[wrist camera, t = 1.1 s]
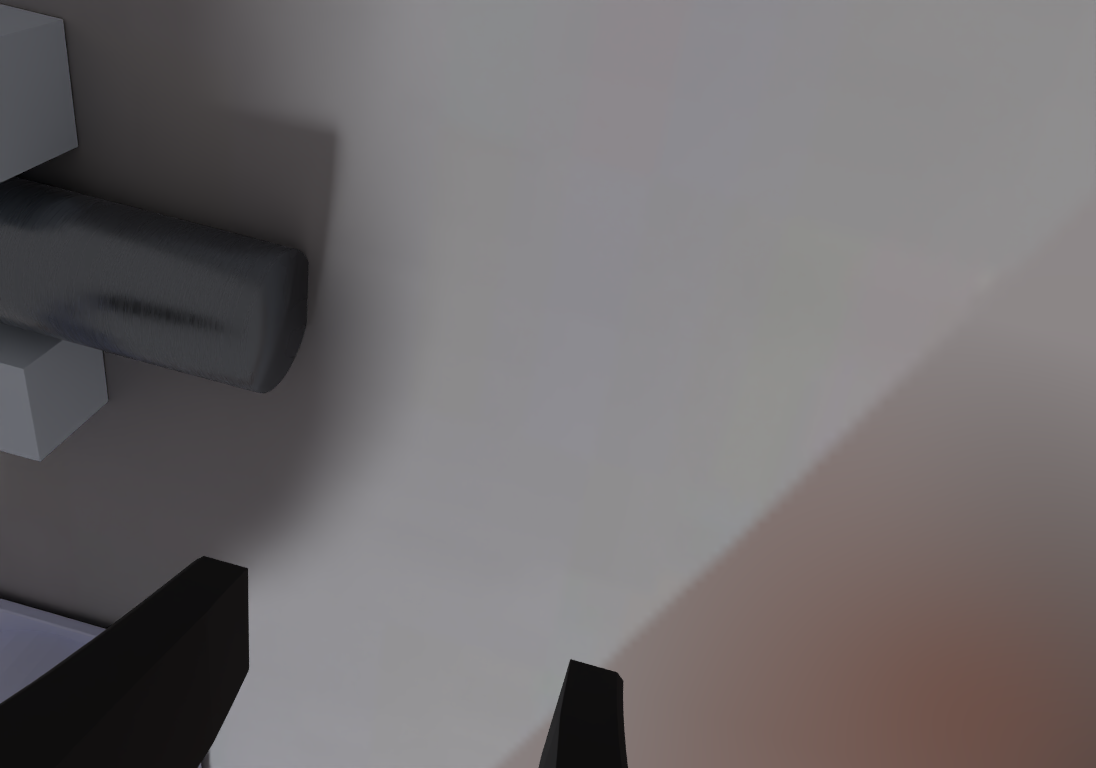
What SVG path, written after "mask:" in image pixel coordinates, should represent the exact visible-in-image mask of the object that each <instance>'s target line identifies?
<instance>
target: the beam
mask: <svg viewBox="0 0 1096 768" xmlns="http://www.w3.org/2000/svg"><path fill="white" fill-rule="evenodd" d="M76 147H78V141H77V133H76V125H75V116H74V108H73V99H72V91H71V82H70V74H69V65H68V57H67V49H66V40H65V32H64V23H63V19H60V18H56V17H51V16H47V15H43V14H39V13H35V12H31V11H27V10H23V9H19V8H15V7H11V6H7V5H2V4H0V183H1V182H3V181H5V180H7V179H10V178H12V177H14V176H16V175H18V174H20V173H22V172H25V171H27V170H29V169H31V168H33V167H35V166H37V165H40V164H42V163H44V162H46V161H48V160H50V159H52V158H55V157H57V156H59V155H61V154H63V153H65V152H67V151H70V150H72V149H74V148H76ZM107 402H108V394H107V386H106V377H105V369H104V361H103V352H102V350H98V349H94V348H91V347H87V346H83V345H79V344H76V343H72V342H68V341H64V340H61V339H57V338H53V337H50V336H46V335H42V334H38V333H35V332H31V331H27V330H23V329H20V328H16V327H12V326H9V325H5V324H1V323H0V451H3V452H7V453H10V454H14V455H17V456H21V457H24V458H28V459H32V460H35V461H39V462H41V461H42V460H43V459H44V458H45V457H46V456H47V455H49V454H50V453H51V452H52V451H53V450H54V449H55V448H56V447H58V446H59V445H60V444H61V443H62V442H63V441H64V440H65V439H67V438H68V437H69V436H70V435H71V434H72V433H73V432H74V431H76V430H77V429H78V428H79V427H80V426H81V425H82V424H83V423H85V422H86V421H87V420H88V419H89V418H90V417H91V416H93V415H94V414H95V413H96V412H97V411H98V410H99V409H100V408H102V407H103V406H104V405H105V404H106V403H107Z"/></svg>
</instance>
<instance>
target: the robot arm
mask: <svg viewBox="0 0 1096 768" xmlns="http://www.w3.org/2000/svg"><path fill="white" fill-rule="evenodd" d="M248 670H249V622H248V568H245V567H241V566H238V565H234V564H231V563H227V562H224V561H220V560H216V559H213V558H209V557H206V556H203V557H201V558H199V559H197V560H195V561H194V562H193V563H191V564H190V565H189V566H188V567H186V568H185V569H184V570H183V571H181V572H180V573H179V574H177V575H176V576H175V577H174V578H172V579H171V580H170V581H169V582H167V583H166V584H165V585H163V586H162V587H161V588H160V589H158V590H157V591H156V592H154V593H153V594H152V595H151V596H149V597H148V598H147V599H145V600H144V601H143V602H141V603H140V604H139V605H138V606H136V607H135V608H134V609H132V610H131V611H130V612H128V613H127V614H126V615H124V616H123V617H122V618H120V619H119V620H118V621H116V622H115V623H114V624H112V625H111V626H110V627H108V628H107V629H105V628H101V627H98V626H94V625H91V624H88V623H84V622H81V621H77V620H74V619H70V618H67V617H63V616H60V615H56V614H53V613H49V612H46V611H43V610H39V609H36V608H32V607H29V606H25V605H22V604H18V603H15V602H11V601H8V600H5V599H1V598H0V768H201V762H202V760H203V759H204V757H205V755H206V754H207V752H208V750H209V749H210V747H211V746H212V744H213V742H214V740H215V738H216V736H217V734H218V732H219V730H220V728H221V726H222V724H223V722H224V720H225V718H226V716H227V714H228V712H229V710H230V708H231V706H232V704H233V702H234V700H235V698H236V696H237V694H238V691H239V689H240V687H241V685H242V683H243V681H244V679H245V677H246V675H247V673H248ZM539 768H628V764H627V755H626V745H625V733H624V717H623V680H622V678H621V677H620V676H619V674H618V673H617V672H614V671H610V670H607V669H603V668H600V667H596V666H593V665H589V664H585V663H582V662H578V661H575V660H571V659H570V662H569V666H568V669H567V672H566V676H565V679H564V682H563V686H562V689H561V692H560V696H559V699H558V702H557V706H556V709H555V712H554V715H553V719H552V722H551V725H550V729H549V732H548V735H547V739H546V743H545V745H544V749H543V752H542V756H541V760H540V764H539Z"/></svg>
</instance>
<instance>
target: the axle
mask: <svg viewBox="0 0 1096 768" xmlns="http://www.w3.org/2000/svg"><path fill="white" fill-rule="evenodd" d="M307 293H308V260H307V258H306V256H305V255H304V253H303V252H301V251H300V250H297V249H294V248H290V247H286V246H282V245H278V244H274V243H270V242H266V241H262V240H259V239H255V238H251V237H247V236H243V235H239V234H235V233H231V232H228V231H224V230H220V229H216V228H212V227H208V226H204V225H200V224H196V223H193V222H189V221H185V220H181V219H177V218H173V217H169V216H165V215H161V214H158V213H154V212H150V211H146V210H142V209H138V208H134V207H130V206H126V205H123V204H119V203H115V202H111V201H107V200H103V199H99V198H95V197H91V196H88V195H84V194H80V193H76V192H72V191H68V190H64V189H60V188H57V187H53V186H49V185H45V184H41V183H37V182H33V181H29V180H25V179H22V178H18V177H12V178H10V179H7V180H5V181H3V182H1V183H0V323H1V324H5V325H9V326H12V327H16V328H20V329H23V330H27V331H31V332H35V333H38V334H42V335H46V336H50V337H53V338H57V339H61V340H64V341H68V342H72V343H76V344H79V345H83V346H87V347H91V348H94V349H98V350H102V351H105V352H109V353H113V354H117V355H120V356H124V357H128V358H132V359H135V360H139V361H143V362H146V363H150V364H154V365H158V366H161V367H165V368H169V369H173V370H176V371H180V372H184V373H187V374H191V375H195V376H199V377H202V378H206V379H210V380H214V381H217V382H221V383H225V384H228V385H232V386H236V387H240V388H243V389H247V390H251V391H255V392H258V393H266V392H269V391H271V390H272V389H273V388H275V387H276V386H277V385H278V384H279V383H280V381H281V380H282V379H283V377H284V376H285V375H286V373H287V371H288V370H289V368H290V366H291V364H292V362H293V360H294V358H295V356H296V354H297V351H298V349H299V346H300V344H301V341H302V338H303V334H304V331H305V327H306V323H307Z"/></svg>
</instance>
